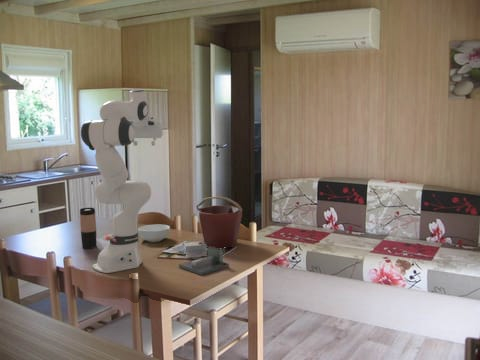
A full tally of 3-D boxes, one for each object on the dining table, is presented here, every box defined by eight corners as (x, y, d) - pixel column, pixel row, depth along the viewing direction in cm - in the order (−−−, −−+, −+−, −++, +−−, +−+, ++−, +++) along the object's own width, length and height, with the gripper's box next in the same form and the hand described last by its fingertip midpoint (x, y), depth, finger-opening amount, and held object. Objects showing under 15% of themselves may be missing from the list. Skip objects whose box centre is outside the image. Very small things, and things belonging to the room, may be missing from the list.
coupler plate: (201, 275, 233) (201, 258, 232) (179, 267, 244) (178, 251, 243) (228, 267, 244) (228, 251, 243) (205, 259, 255) (205, 244, 254)
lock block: (186, 258, 258) (185, 245, 257) (184, 254, 264) (183, 242, 263) (206, 256, 260) (206, 244, 259) (204, 253, 267) (203, 240, 266)
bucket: (188, 245, 279) (187, 198, 275) (214, 236, 298) (213, 191, 294) (227, 253, 266) (226, 203, 262) (251, 242, 284) (251, 196, 280)
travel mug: (78, 247, 278) (76, 209, 275) (89, 244, 285) (87, 207, 282) (89, 249, 275) (87, 211, 272) (100, 245, 281) (98, 208, 278)
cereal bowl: (173, 236, 299) (172, 224, 297) (166, 244, 282) (165, 231, 281) (143, 236, 300) (142, 223, 299) (134, 244, 284) (134, 231, 283)
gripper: (119, 122, 272) (123, 147, 278) (159, 122, 270) (162, 147, 276) (123, 118, 278) (126, 142, 284) (161, 117, 275) (164, 142, 282)
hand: (144, 145), depth 280 cm, fingers open, 8 cm apart
